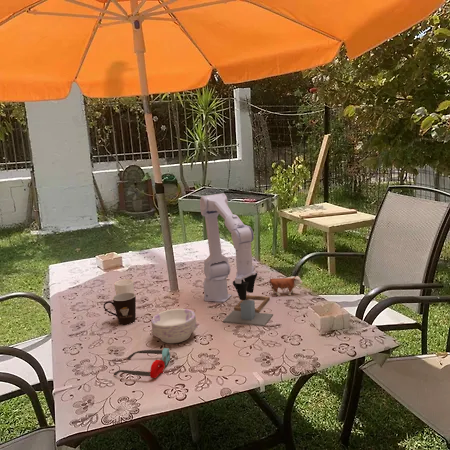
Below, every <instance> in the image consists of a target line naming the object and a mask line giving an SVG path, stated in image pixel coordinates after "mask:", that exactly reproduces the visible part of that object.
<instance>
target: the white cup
mask: <svg viewBox="0 0 450 450" xmlns="http://www.w3.org/2000/svg"><path fill="white" fill-rule="evenodd" d="M113 284H114V291H115V295H118V294H121V293H134V294H135V282H134V279H127V278H126V279H120V280H117V281H114V283H113Z"/></svg>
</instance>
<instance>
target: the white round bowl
mask: <svg viewBox="0 0 450 450" xmlns="http://www.w3.org/2000/svg"><path fill="white" fill-rule="evenodd" d="M150 323H151V329H152V334H153V336H155V337H156V338H159V339H160V340H161V341H162V342H164V343H166V344H179V343H182V342H184V341H186V340H188V339H190V337H191V336H192V333H193V332H195V331H196V330H197V326H198V325H197V318H196V313H195V311H194V310H191V309H188V308H172V309H167V310H163V311H161V312H157V313H155V315H153V317H152V318H151V320H150Z"/></svg>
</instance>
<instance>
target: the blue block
mask: <svg viewBox="0 0 450 450" xmlns="http://www.w3.org/2000/svg"><path fill="white" fill-rule="evenodd" d="M240 305H241V319H245V320H252V319H253V318H254V317H255V309H256V305H255V299H248V300H243V302H242V303H241V304H240Z"/></svg>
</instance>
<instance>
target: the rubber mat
mask: <svg viewBox="0 0 450 450" xmlns="http://www.w3.org/2000/svg"><path fill="white" fill-rule="evenodd" d="M273 316H274V313H264V312H259V313H256V312H255V317H254V318H253V319H252V320H245V319H241V311H234V310H232V311H231V312H230V313H229V314H228V315H227V316H226V317H225V318H224V319H223V320H222V322H223V323H229V324H230V323H231V324H237V325H249V326H259V327H266V325H267V324H268V323H269V321H270V320H271V319H272V318H273Z"/></svg>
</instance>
